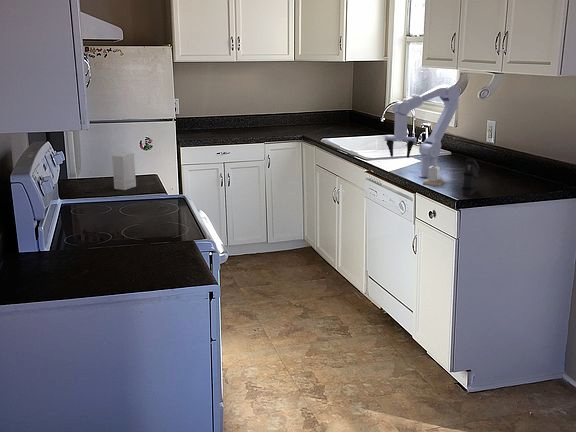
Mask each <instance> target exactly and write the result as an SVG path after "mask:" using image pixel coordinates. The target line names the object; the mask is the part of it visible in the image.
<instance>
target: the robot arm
mask: <svg viewBox="0 0 576 432" xmlns="http://www.w3.org/2000/svg"><path fill="white" fill-rule="evenodd" d="M460 95H461V92H460V89H459V87H458V86H457V85H454V84H453V85H450V84H445V83H444V84H441V85H437V86H436V87H434V88H432V89H430V90H428V91H426V92H425V93H422V94H421V95H419V94H411V95H410V97H407V98H403V99H402V101H396V102H395V103H394V105H393V107H392V112H393V113H394V129H393V130H394V133H393V134H394V135H393V136H384V142H386V145H387V147H388V151H389V155H390V157H391V158H393V157H394V143H395V142H405V143H406V149H407V150H406V151H407V152H406V158H410V155H411V151H412V148H413V146H414V144H415V143H416V142H417V137H412V136H408V131H407V130H408V114H409V113H410V112H411V111H413V110H415V109H417V108H419V107H421V106H422V105H423V103H424V102H427V101H429V100H432V99H434V98H437V97H439V98H440V100H441V101H442V102H443V105H444V108H442V109H443V110H442V112H441V114H440V116H439V118H438V119H437V122H436V123H435V125H434V128H433V130H432V131H431V134H430V135H429V136H428V137H426V138H425V139H424V141H423V142H422V143H421V145H419V149H418V151H419V154H420V155H421V156H420V157H421V163H420V164H421V165H420V174H419V175H418V177H419V178H428V168H429V167H430V166H434V165H436V166H438V158H439V156H440V154H441V148H442V142H441V141H442V139H443V137H444V135H445V133H446V131H447V130H448V127H449V126H450V123H451V121H452V119H453V118H454V115H455V113H456V111H457V109H458V106H459V98H460Z"/></svg>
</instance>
